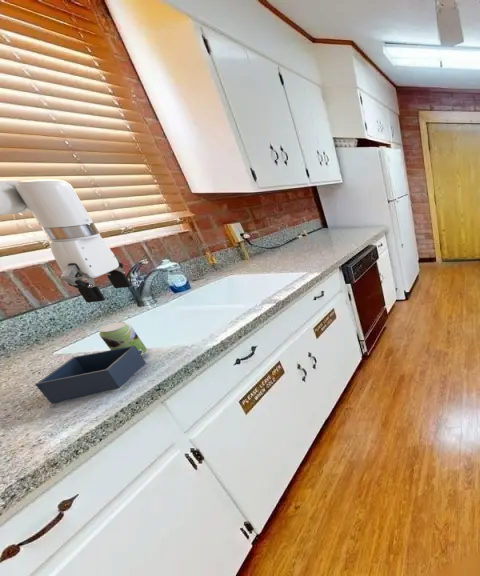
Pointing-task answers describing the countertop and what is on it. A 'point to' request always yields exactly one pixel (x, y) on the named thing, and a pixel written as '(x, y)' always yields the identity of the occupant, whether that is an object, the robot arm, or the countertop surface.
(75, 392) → the bin
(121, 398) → the countertop surface
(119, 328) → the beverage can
